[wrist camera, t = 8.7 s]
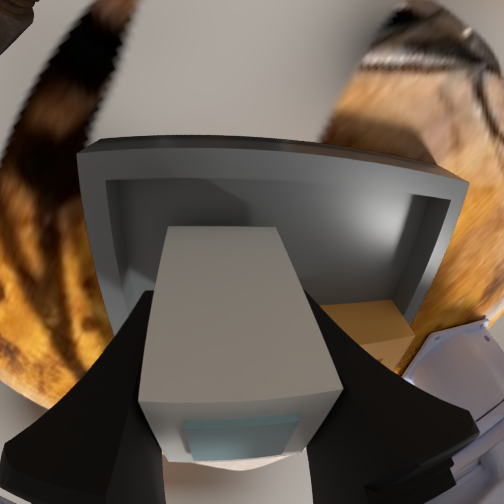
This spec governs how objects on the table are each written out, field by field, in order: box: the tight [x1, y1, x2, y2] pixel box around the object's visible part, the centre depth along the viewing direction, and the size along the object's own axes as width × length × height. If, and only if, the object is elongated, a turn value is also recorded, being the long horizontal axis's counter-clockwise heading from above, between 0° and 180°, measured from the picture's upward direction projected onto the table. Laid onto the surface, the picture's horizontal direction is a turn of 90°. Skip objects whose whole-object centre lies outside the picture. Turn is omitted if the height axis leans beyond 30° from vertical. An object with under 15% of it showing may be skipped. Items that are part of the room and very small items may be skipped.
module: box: [138, 226, 343, 462], centre depth 9 cm, size 4×4×7 cm
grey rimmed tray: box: [77, 135, 469, 371], centre depth 14 cm, size 16×18×4 cm
